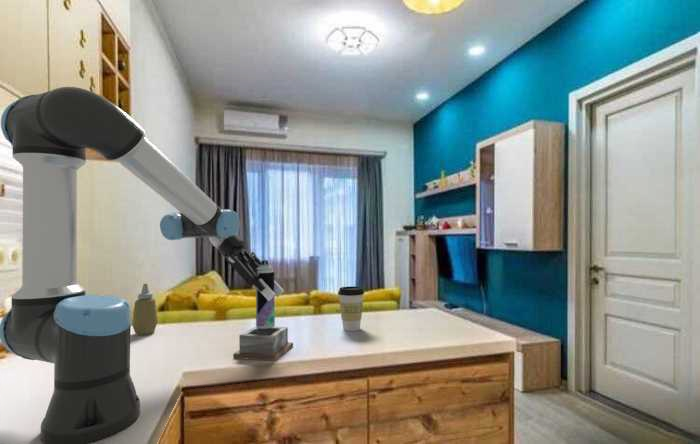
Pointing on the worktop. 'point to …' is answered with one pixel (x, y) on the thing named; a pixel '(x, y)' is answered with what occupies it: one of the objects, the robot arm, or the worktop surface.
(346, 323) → the coffee cup
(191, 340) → the worktop surface
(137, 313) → the squeeze bottle
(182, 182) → the robot arm
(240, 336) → the socket stand
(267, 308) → the spray can
